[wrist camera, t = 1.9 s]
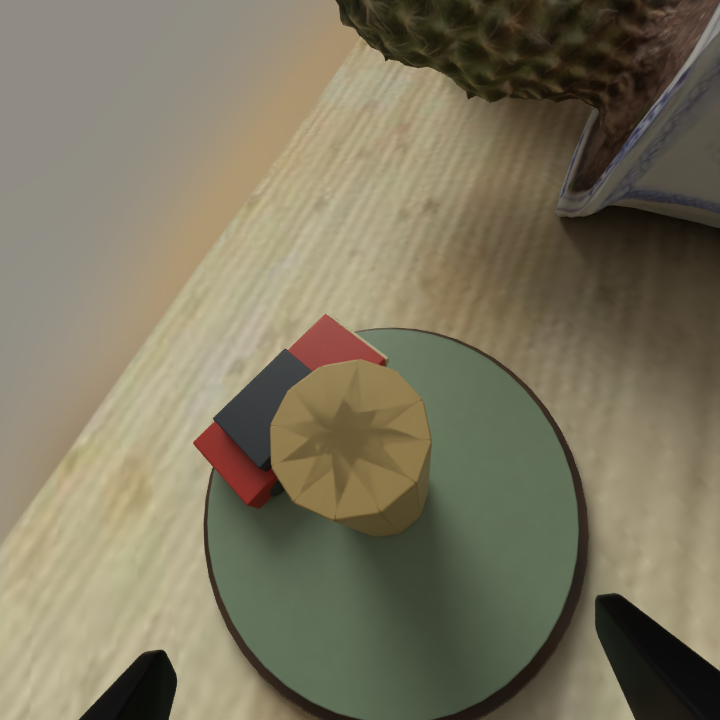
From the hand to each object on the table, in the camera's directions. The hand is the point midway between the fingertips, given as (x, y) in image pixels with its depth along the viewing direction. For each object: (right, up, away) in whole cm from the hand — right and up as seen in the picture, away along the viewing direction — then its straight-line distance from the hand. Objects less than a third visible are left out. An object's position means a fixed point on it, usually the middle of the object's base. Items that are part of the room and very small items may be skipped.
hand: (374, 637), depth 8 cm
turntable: (+1, 0, +11) cm, 11 cm away
